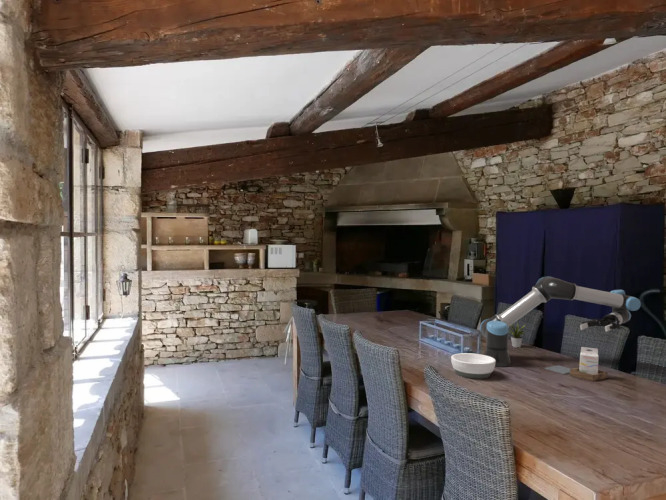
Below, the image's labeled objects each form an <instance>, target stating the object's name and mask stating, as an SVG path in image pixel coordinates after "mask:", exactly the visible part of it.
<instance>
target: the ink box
mask: <svg viewBox="0 0 666 500" xmlns="http://www.w3.org/2000/svg"><path fill="white" fill-rule="evenodd" d="M599 359H600V358H599V349H598V348H593V347H587V346H586V347H585V346H581V347H580V354H579V367H578V368H579V371H580V372H584V373H588V374H592V375H593V374H598V370H599Z"/></svg>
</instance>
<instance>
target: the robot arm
mask: <svg viewBox="0 0 666 500" xmlns="http://www.w3.org/2000/svg"><path fill="white" fill-rule="evenodd" d="M552 299H555V300H556V299H557V300H567V301H573V300H577V301H582V302H587V303H593V304H597V305H602V306H603V305H604V306H609V307H611V309H612V312H611V313H608V314H606V315H604V316H603V317H602V318H601V319H592V320H586V321H581V323H582V324H580V325H579V327H580V331H583V330H585V329H588V328H590V327H604V330H605V333H606V332H609V331H613V329H614V330H616V329H617V330H620V329H621V328H620V326H621V325H622V324H625V323H627V322H629V321H630V320H631V317H632V314H631V312H634V311H638V310H639V309H640V308H641V305H642V303H641V301H640V299H639V298H637V297H635V296H631V295H626V291H625V290H624V289H614V290H611V291H606V290H605V291H604V290H599V289H594V288H589V287H584V286H579V285H577V284H576V283H573V282H568V281H565V280H563V279H560V278H558V277H557V278H556V277H554V276H549V275H548V276H542V277H541V278H539V279H538V280H537V282H536V284H535V285H534V286H532V288H531V291H529V292H528V293H527V294H526V295H524V296H523V297H521V298H520V299H519V300H517V301H516V302H515V303H513V304H512V305H511V306H509V307H508V308H507V309H506V310H504V311H502V312H501V313H500V314H494V315H493V316H492V317H490V318H487V319H484V320H482V322H481V323H480V326H479V331H480V334H481V336H482V337H483V338H484V339H486V342H485V343H486V344H485V345H486V348H485V352H484V354H483V355H486V356H490V357H492V358H494V359H495V360H496V362H495V367H499V368H501V367H502V368H503V367H504V368H505V367H510V366H511V363H512V361H511V358H510V354H509V352H508V350H509V349H508V348H509V332H508V331H510V330H509V328H510V327H511V326H510V325H514V324H515V323H516V322H517V321H519V320H520V319H521V318H523V317H524V316H526V315H527V314H528V313H530V312H531V311H532V310H533V309H535V308H536V307H537V306H540V304H542V303H547V302H549V301H550V300H552ZM630 311H631V312H630Z"/></svg>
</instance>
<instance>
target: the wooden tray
mask: <svg viewBox="0 0 666 500" xmlns="http://www.w3.org/2000/svg"><path fill="white" fill-rule="evenodd" d="M569 376H573V377H576V378H580V379H583V380H587V381H590V382H596V381H601V380H604V379H608V371H604V370H601V369H598V374H593V375H592V374H588V373H584V372H580V371H579V367H575V368H570V373H569Z"/></svg>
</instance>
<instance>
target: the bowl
mask: <svg viewBox="0 0 666 500" xmlns="http://www.w3.org/2000/svg"><path fill="white" fill-rule="evenodd" d="M450 360H451V364H452V365H451V366H452V367H453V370H454V371H455V373H456V375H457V376H460V377H463V378H466V379H467V378H468V379H480V380H481V379H486V378H489V377H490V376H491V374H492V373H493V372H494V369H495V367H496V366H495V362H496V360H495V359H494V358H492V357H490V356H486V355H484V354H481V353H471V352H469V353H468V352H465V353H464V352H462V353H455V354H452V355H451V356H450Z"/></svg>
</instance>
